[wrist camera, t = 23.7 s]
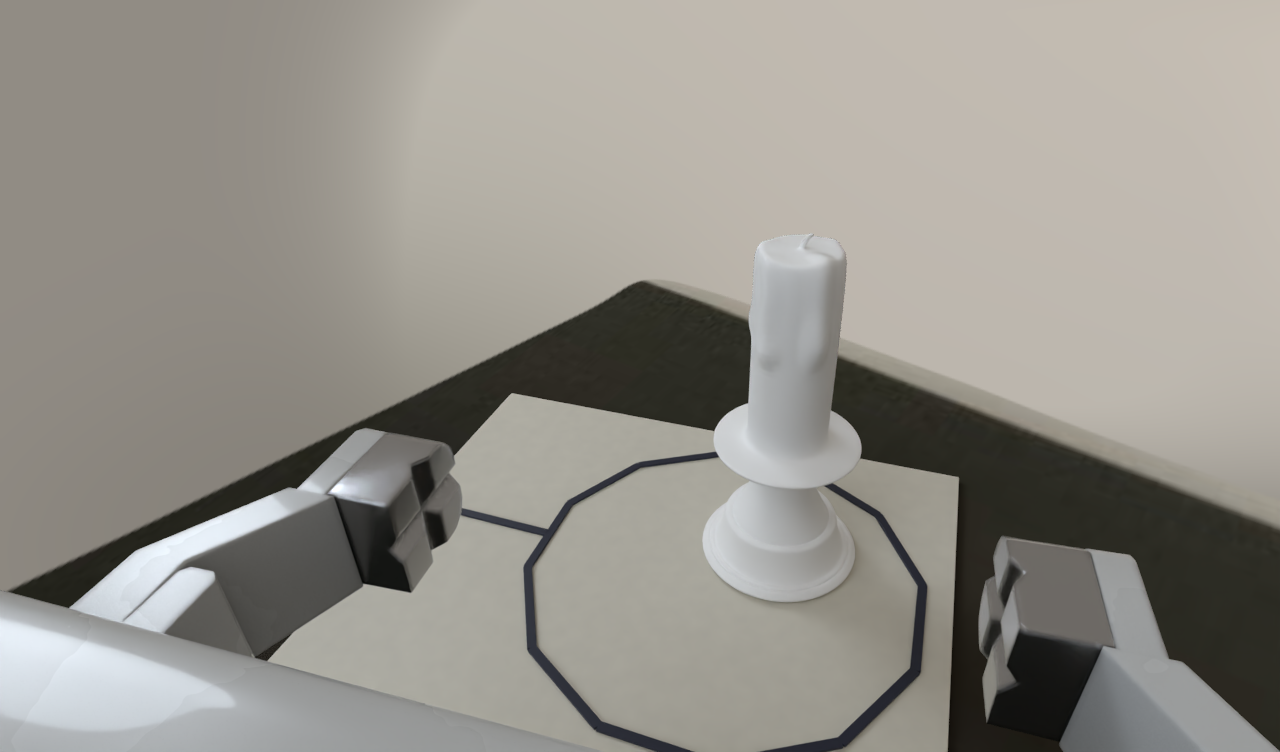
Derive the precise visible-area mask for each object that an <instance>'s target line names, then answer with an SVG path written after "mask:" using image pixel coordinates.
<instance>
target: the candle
mask: <svg viewBox="0 0 1280 752" xmlns="http://www.w3.org/2000/svg"><path fill="white" fill-rule="evenodd" d="M813 235H814V234H812V233H811V234H808V235H786V236H781V237H777V238H774V239H770V240H766V241H763V242H761V243H760V244H759V245H758V247H757V249H756V252H755V257H754V269H753V293H752V302H751V307H750V312H749V328H750V332H751V362H750V383H749V403H748V404H745V405H742V406H740V407H738V408H736V409H734V410H732V411H731V412H729V413H728V414H726V415H725V416H724V417H723V418H722V419H721V420H720V422H719V423H718V425H717V427H716V429H715V432H714V438H713V440H714V447H715V450H716V452H717V454H718V456H719V457H720V459H721V460H722V461H723V463H724V464H725V465H726V466H727V467H728V468H730V469H731V470H732V471H733V472H735V473H736V474H738V475H740V476H741V477H743V478H745V479H747V480H749V482H748V483H746V484H744V485H742V486H741V487H739V488H738V489H737V490H736V491H735V492H734V493H733V494H732V495H731V496H730V498H729V499H728V501H727V502H726V503H725V504H723V505H722V506H720V507H719V508H718V509H717V510H716V511H715V512H714V513H713V514H712V515H711V517H710V518H709V520H708V521H707V523H706V525H705V528H704V532H703V539H702V542H703V550H704V553H705V556H706V559H707V561H708V563H709V564H710V566H711V567H712V569H713V570H714V571H715V572H716V574H717V575H718V576H719V577H720V578H721V579H723V580H724V581H725V582H726V583H728V584H729V585H730V586H732V587H734V588H735V589H737V590H739V591H741V592H743V593H745V594H747V595H750V596H753V597H756V598H759V599H763V600H768V601H774V602H800V601H806V600H810V599H814V598H817V597H820V596H822V595H825V594H827V593H829V592H830V591H832V590H834V589H835V588H836V587H838V586H839V585H840V584H841V583H842V582H843V581H844V580H845V579H846V578H847V576H848V575H849V573H850V571H851V569H852V567H853V564H854V560H855V546H854V541H853V538H852V536H851V534H850V532H849V530H848V528H847V527H846V525H845V524H844V523H843V521H842V520H841V519H840V518H839V517H838V516H837V515H836V514H835V511H834V508H833V506H832V504H831V503H830V501H829V500H828V499H827V498H826V497H825V496H824V495H823V494H822V493H821V492H819V491H818V490H817V488H818V487H822V486H826V485H829V484H831V483H834V482H836V481H838V480H840V479H842V478H843V477H845V476H846V475H848V474H849V473H850V472H851V471H852V470H853V469H854V468H855V466H856V465H857V463H858V461H859V459H860V456H861V442H860V439H859V436H858V434H857V432H856V431H855V430H854V428H853V427H852V426H851V425H850V424H849V423H848V422H847V421H846V420H845V419H844V418H842V417H841V416H839V415H838V414H836V413H835V412H833V411H831V404H832V396H833V388H834V379H835V371H836V363H837V354H838V346H839V337H840V329H841V320H842V311H843V302H844V292H845V281H846V254H845V251H844V250H843V248H842V247H841V245H840V243H839V242H838V241H837V240H835V239H832V238H822V237H818V236H813Z"/></svg>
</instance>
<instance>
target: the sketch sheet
mask: <svg viewBox="0 0 1280 752" xmlns="http://www.w3.org/2000/svg"><path fill="white" fill-rule="evenodd" d="M714 432H715V431H710V430H704V429H699V428H694V427H689V426H683V425H678V424H673V423H667V422H662V421H657V420H651V419H646V418H641V417H635V416H630V415H625V414H620V413H614V412H609V411H604V410H598V409H593V408H588V407H582V406H577V405H572V404H566V403H561V402H556V401H550V400H545V399H540V398H535V397H529V396H524V395H519V394H513V393H511V394H510V395H509V397H508V398H507V399H506V400H505V401H504V402H503V403H502V404H501V405H500V406H499V408H498V409H497V410H496V411H495V412H494V413H493V414H492V415H491V416H490V417H489V418H488V420H487V421H486V422H485V423H484V424H483V425H482V426H481V427H480V428H479V429H478V431H477V432H476V433H475V434H474V435H473V436H472V437H471V438H470V439H469V440H468V442H467V443H466V444H465V445H464V446H463V447H462V448H461V449H460V450H459V451H458V453H457V454H456V455H455V456H454V459H455V463H456V464H455V465H454V467H453V468H452V469H451V471H450V472H449V473H450V474H451V475H452V476H453V478H454V479H455V480H456V481H457V482H458V483H459V485H460V487H461V492H462V512H461V516H460V519H459V522H458V525H457V528H456V530H455V531H454V533H453V534H452V536H451V537H450V539H449V540H448V542H446V543H444V544H442V545H440V546H439V547H437V548H435V549H433V550H432V556H433V563H432V565H431V566H430V568H429V569H428V570H427V572H426V573H425V575H424V576H423V577H422V579H421V580H420V582H419V583H418V585H417V586H416V587H415V589H414V590H413V592H412V593H408V592H403V591H398V590H393V589H388V588H383V587H377V586H372V585H367V584H363V587H362V588H360V589H359V590H357V591H356V592H354V593H353V594H351V595H350V596H348V597H346V598H345V599H343V600H342V601H340V602H339V603H337V604H336V605H334V606H333V607H331V608H330V609H328V610H326V611H325V612H323V613H322V614H320V615H319V616H317V617H316V618H314V619H313V620H311V621H310V622H308V623H306V624H305V625H303V626H302V627H300V628H299V629H297V630H296V631H294V633H293V634H292V635H291V636H290V637H289V638H288V639H287V640H286V641H285V642H284V644H283V645H282V646H281V647H280V648H279V649H278V650H277V651H276V652H275V653H274V655H273V656H272V657H271V658H270V659H269V660H268V662H271V663H275V664H279V665H283V666H286V667H290V668H294V669H298V670H301V671H305V672H309V673H313V674H316V675H320V676H324V677H328V678H331V679H335V680H339V681H343V682H346V683H350V684H354V685H357V686H361V687H365V688H369V689H372V690H376V691H380V692H384V693H387V694H391V695H395V696H399V697H402V698H406V699H410V700H414V701H417V702H421V703H425V704H429V705H432V706H436V707H440V708H444V709H447V710H451V711H455V712H458V713H462V714H466V715H470V716H473V717H477V718H481V719H485V720H488V721H492V722H496V723H499V724H503V725H507V726H511V727H514V728H518V729H522V730H526V731H529V732H533V733H537V734H540V735H544V736H548V737H552V738H555V739H559V740H563V741H567V742H570V743H574V744H578V745H581V746H585V747H589V748H593V749H596V750H600V751H604V752H948V732H949V708H950V684H951V660H952V636H953V612H954V587H955V563H956V539H957V515H958V491H959V477H954V476H949V475H943V474H938V473H933V472H928V471H922V470H917V469H912V468H906V467H901V466H896V465H890V464H885V463H880V462H874V461H869V460H864V459H859V461H858V463H857V465H856V466H855V468H854V469H853V470H852V471H851V472H850V473H849V474H848V475H846V476H845V477H843V478H842V479H840V480H838V481H836V482H834V483H831V484H829V485H826V486H822V487H818V488H817V490H818V491H819V492H821V493H822V494H823V495H824V496H825V497H826V498H827V499H828V500H829V501H830V503H831V504H832V506H833V508H834V511H835V514H836V515H837V516H838V517H839V518H840V519H841V520H842V521H843V523H844V524H845V525H846V527H847V528H848V530H849V532H850V534H851V536H852V538H853V541H854V546H855V560H854V564H853V567H852V569H851V571H850V573H849V575H848V576H847V578H846V579H845V580H844V581H843V582H842V583H841V584H840V585H839V586H838V587H836V588H835V589H834V590H832V591H830V592H829V593H827V594H825V595H822V596H820V597H817V598H814V599H810V600H806V601H800V602H774V601H768V600H763V599H759V598H756V597H753V596H750V595H747V594H745V593H743V592H741V591H739V590H737V589H735V588H734V587H732V586H730V585H729V584H728V583H726V582H725V581H724V580H723V579H721V578H720V577H719V576H718V575H717V574H716V572H715V571H714V570H713V569H712V567H711V566H710V564H709V563H708V561H707V559H706V556H705V553H704V550H703V542H702V539H703V532H704V528H705V525H706V523H707V521H708V520H709V518H710V517H711V515H712V514H713V513H714V512H715V511H716V510H717V509H718V508H719V507H720V506H722V505H723V504H725V503H726V502H727V501H728V499H729V498H730V496H731V495H732V494H733V493H734V492H735V491H736V490H737V489H738V488H739V487H741V486H742V485H744V484H746V483H748V482H749V480H747V479H745V478H743V477H741V476H740V475H738V474H736V473H735V472H733V471H732V470H731V469H730V468H728V467H727V466H726V465H725V464H724V463H723V461H722V460H721V459H720V457H719V456H718V454H717V452H716V450H715V447H714V440H713V438H714Z"/></svg>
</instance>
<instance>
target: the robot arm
mask: <svg viewBox="0 0 1280 752" xmlns="http://www.w3.org/2000/svg"><path fill="white" fill-rule="evenodd" d="M455 464H456V463H455V459H454V456H453V452H452V448H451V447H450V446H449V445H447V444H445V443H442V442H437V441H432V440H427V439H422V438H416V437H411V436H406V435H401V434H396V433H387V432H382V431H377V430H372V429H367V428H364V429H361V430H358V431H355V432H354V433H353V434H352V435H351V436H350V437H349V438H348V439H347V440H346V441H345V442H344V443H343V444H342V445H341V446H340V447H339V448H338V449H337V450H336V451H335V452H334V453H333V454H332V455H331V456H330V457H329V458H328V459H327V460H326V461H325V462H324V463H323V464H322V465H321V466H320V467H319V468H318V469H317V470H316V471H315V472H314V473H313V474H312V475H311V476H310V477H309V478H308V479H307V480H306V481H305V482H304V483H303V484H302V485H301V486H300V487H299V488H298V489H293V488H287V489H284V490H282V491H279V492H277V493H275V494H272V495H270V496H267V497H265V498H262V499H260V500H258V501H255V502H253V503H250V504H248V505H245V506H243V507H241V508H238V509H236V510H233V511H231V512H228V513H226V514H224V515H221V516H219V517H216V518H214V519H211V520H209V521H207V522H204V523H202V524H199V525H197V526H194V527H192V528H190V529H187V530H185V531H182V532H180V533H178V534H175V535H173V536H170V537H168V538H165V539H163V540H161V541H158V542H156V543H153V544H151V545H148V546H146V547H144V548H141V549H139V550H136V551H135V552H134V553H133V554H131V555H130V556H129V557H128V558H127V559H126V560H124V561H123V562H122V563H121V564H120V565H119V566H118V567H116V568H115V569H114V570H113V571H112V572H111V573H109V574H108V575H107V576H106V577H105V578H104V579H102V580H101V581H100V582H99V583H98V584H97V585H96V586H94V587H93V588H92V589H91V590H90V591H89V592H87V593H86V594H85V595H84V596H83V597H82V598H81V599H79V600H78V601H77V602H76V603H75V604H74V605H72V606H71V607H70V608H66V607H62V606H58V605H55V604H51V603H47V602H43V601H40V600H36V599H32V598H28V597H25V596H21V595H17V594H13V593H10V592H6V591H2V590H0V752H604V751H600V750H596V749H593V748H589V747H585V746H581V745H578V744H574V743H570V742H567V741H563V740H559V739H555V738H552V737H548V736H544V735H540V734H537V733H533V732H529V731H526V730H522V729H518V728H514V727H511V726H507V725H503V724H499V723H496V722H492V721H488V720H485V719H481V718H477V717H473V716H470V715H466V714H462V713H458V712H455V711H451V710H447V709H444V708H440V707H436V706H432V705H429V704H425V703H421V702H417V701H414V700H410V699H406V698H402V697H399V696H395V695H391V694H387V693H384V692H380V691H376V690H372V689H369V688H365V687H361V686H357V685H354V684H350V683H346V682H343V681H339V680H335V679H331V678H328V677H324V676H320V675H316V674H313V673H309V672H305V671H301V670H298V669H294V668H290V667H286V666H283V665H279V664H275V663H271V662H268V661H264V660H260V659H257V658H255V657H256V656H257V655H259V654H260V653H262V652H263V651H265V650H266V649H268V648H269V647H271V646H273V645H274V644H276V643H277V642H279V641H280V640H282V639H283V638H285V637H286V636H288V635H289V634H291V633H293V632H294V631H296V630H297V629H299V628H300V627H302V626H303V625H305V624H306V623H308V622H310V621H311V620H313V619H314V618H316V617H317V616H319V615H320V614H322V613H323V612H325V611H326V610H328V609H330V608H331V607H333V606H334V605H336V604H337V603H339V602H340V601H342V600H343V599H345V598H346V597H348V596H350V595H351V594H353V593H354V592H356V591H357V590H359V589H360V588H362V587H363V584H367V585H372V586H377V587H383V588H388V589H393V590H398V591H403V592H408V593H412V592H413V590H414V589H415V587H416V586H417V585H418V583H419V582H420V580H421V579H422V577H423V576H424V575H425V573H426V572H427V570H428V569H429V568H430V566H431V565H432V563H433V556H432V550H433V549H435V548H437V547H439V546H440V545H442V544H444V543H446V542H448V540H449V539H450V537H451V536H452V534H453V533H454V531H455V530H456V528H457V525H458V522H459V519H460V516H461V512H462V492H461V487H460V485H459V483H458V482H457V481H456V480H455V479H454V478H453V476H452V475H451V474H450V473H449V472H450V471H451V469H452V468H453V467H454V465H455ZM993 560H994V569H995V576H993V577H991V578H990V579H988V580H986V583H985V587H984V591H983V594H982V598H981V605H980V612H979V647H980V651H981V652H982V654H983V655H984V656H985V657H986V658H987V660H988V662H987V665H986V669H985V672H984V675H983V678H982V681H983V691H984V701H985V711H986V722H987V724H991V725H995V726H999V727H1003V728H1007V729H1011V730H1015V731H1019V732H1023V733H1027V734H1031V735H1035V736H1039V737H1043V738H1047V739H1051V740H1055V741H1059V742H1060V743H1059V746H1060V747H1061V749H1062V750H1063V752H1280V751H1279V750H1278V749H1277V748H1276V747H1274V746H1273V745H1272V744H1271V743H1270V742H1269V741H1268V740H1267V739H1266V738H1265V737H1264V736H1263V735H1261V734H1260V733H1259V732H1258V731H1257V730H1256V729H1255V728H1254V727H1253V726H1252V725H1251V724H1249V723H1248V722H1247V721H1246V720H1245V719H1244V718H1243V717H1242V716H1241V715H1240V714H1239V713H1238V712H1236V711H1235V710H1234V709H1233V708H1232V707H1231V706H1230V705H1229V704H1228V703H1227V702H1226V701H1225V700H1223V699H1222V698H1221V697H1220V696H1219V695H1218V694H1217V693H1216V692H1215V691H1214V690H1213V689H1212V688H1210V687H1209V686H1208V685H1207V684H1206V683H1205V682H1204V681H1203V680H1202V679H1201V678H1200V677H1198V676H1197V675H1196V674H1195V673H1194V672H1193V671H1192V670H1191V669H1190V668H1189V667H1188V666H1187V665H1185V664H1184V663H1183V662H1180V661H1175V660H1170V659H1169V658H1168V655H1167V652H1166V649H1165V646H1164V643H1163V640H1162V637H1161V634H1160V631H1159V628H1158V625H1157V622H1156V619H1155V616H1154V613H1153V610H1152V607H1151V604H1150V601H1149V599H1148V596H1147V593H1146V590H1145V587H1144V584H1143V581H1142V578H1141V575H1140V572H1139V569H1138V566H1137V563H1136V561H1135V560H1134V559H1133V558H1132V557H1131V556H1130V555H1126V554H1119V553H1112V552H1106V551H1099V550H1092V549H1085V550H1084V549H1082V548H1075V547H1069V546H1063V545H1057V544H1050V543H1044V542H1038V541H1032V540H1025V539H1019V538H1013V537H1007V536H1002V537H1001V538H1000V540H999V542H998V543H997V547H996V550H995V553H994V556H993Z"/></svg>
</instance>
